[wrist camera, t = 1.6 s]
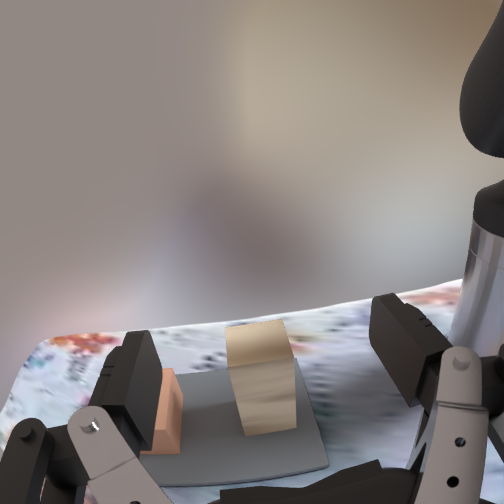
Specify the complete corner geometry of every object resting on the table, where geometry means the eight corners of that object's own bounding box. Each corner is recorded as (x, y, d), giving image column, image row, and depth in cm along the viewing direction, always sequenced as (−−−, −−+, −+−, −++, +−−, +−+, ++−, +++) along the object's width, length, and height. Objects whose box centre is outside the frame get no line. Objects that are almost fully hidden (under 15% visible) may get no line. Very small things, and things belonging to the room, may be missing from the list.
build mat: (115, 381, 35) (113, 378, 35) (296, 361, 36) (296, 358, 36) (90, 480, 22) (88, 478, 21) (329, 466, 23) (329, 464, 22)
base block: (119, 398, 32) (104, 372, 30) (183, 395, 32) (172, 367, 30) (106, 452, 25) (86, 428, 23) (179, 453, 25) (165, 429, 23)
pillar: (240, 399, 31) (225, 327, 27) (287, 391, 32) (281, 318, 27) (245, 436, 27) (227, 367, 23) (296, 427, 27) (293, 356, 23)
